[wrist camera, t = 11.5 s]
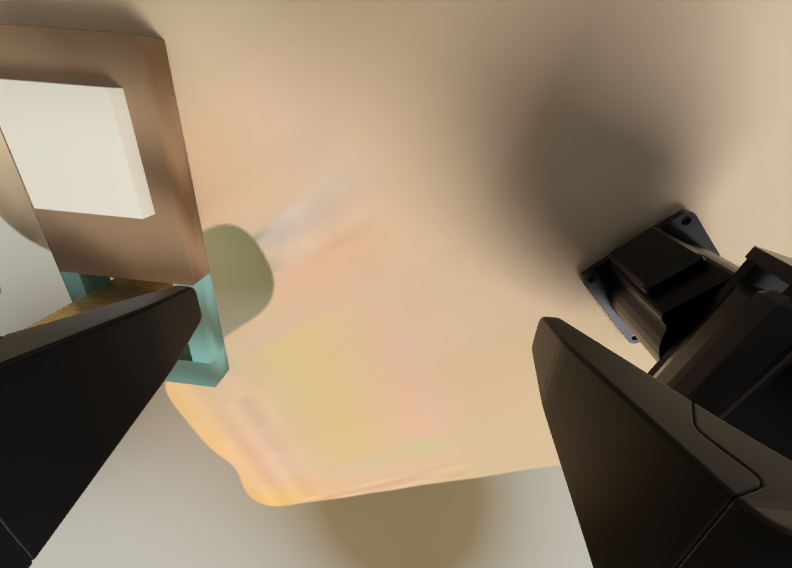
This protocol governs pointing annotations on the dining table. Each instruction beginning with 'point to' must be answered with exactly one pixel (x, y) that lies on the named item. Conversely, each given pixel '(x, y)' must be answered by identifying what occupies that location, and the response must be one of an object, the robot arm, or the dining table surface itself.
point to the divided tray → (109, 168)
